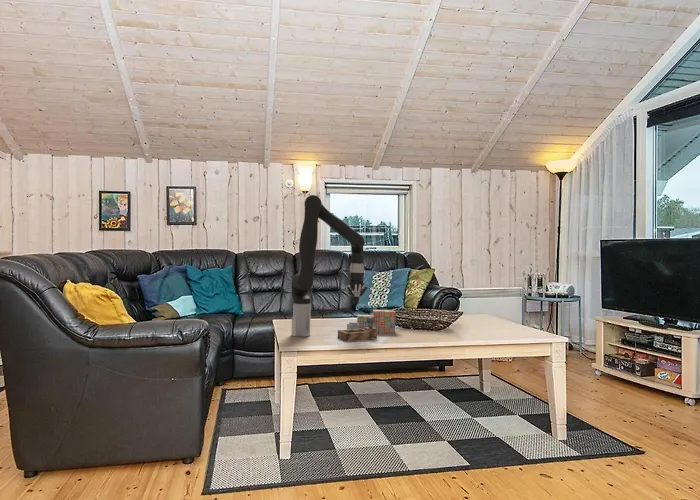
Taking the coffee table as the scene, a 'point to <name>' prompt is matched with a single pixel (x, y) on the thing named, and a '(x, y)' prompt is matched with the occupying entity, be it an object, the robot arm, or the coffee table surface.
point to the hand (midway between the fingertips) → (355, 303)
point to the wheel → (371, 319)
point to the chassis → (358, 333)
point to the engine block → (352, 325)
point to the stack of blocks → (379, 321)
